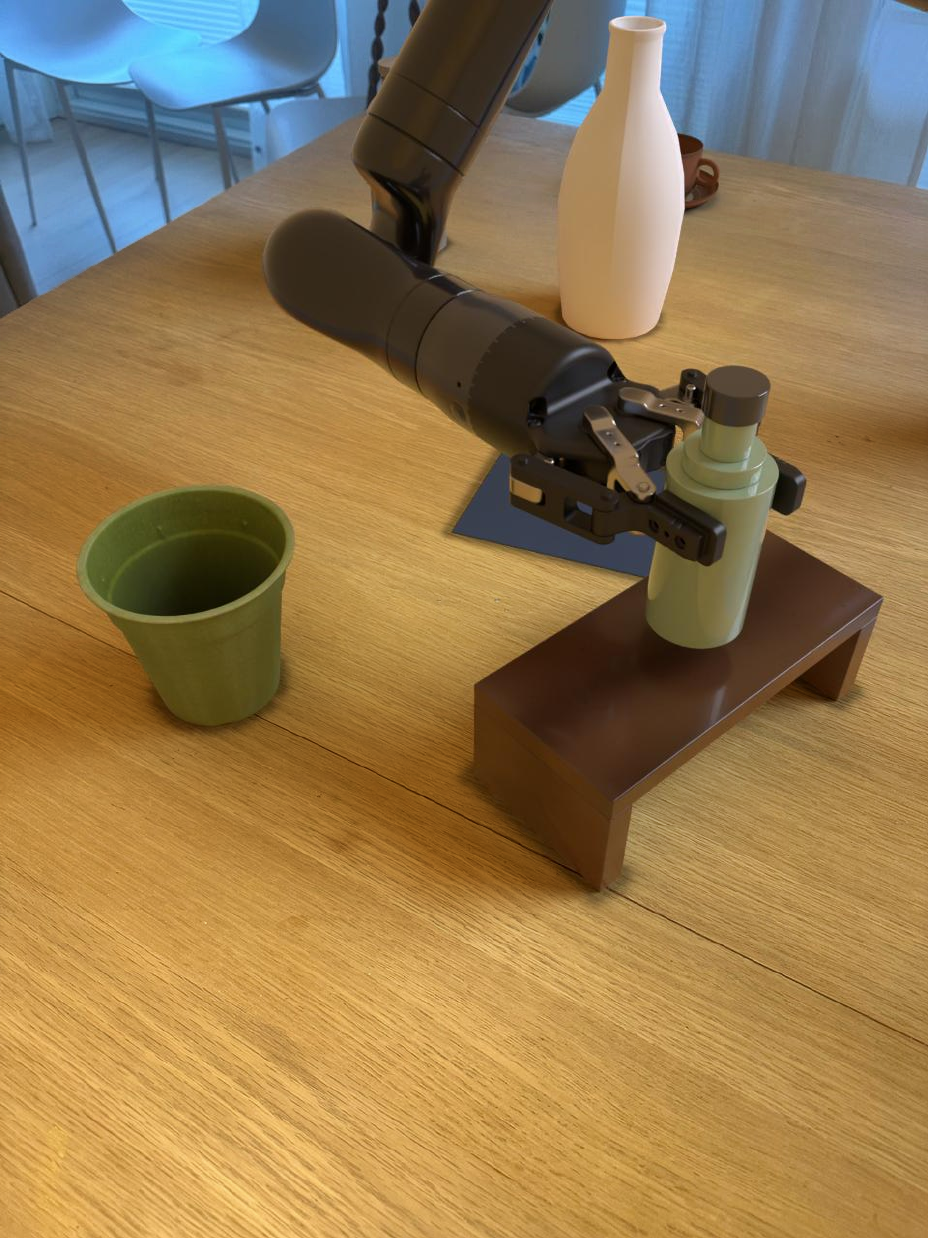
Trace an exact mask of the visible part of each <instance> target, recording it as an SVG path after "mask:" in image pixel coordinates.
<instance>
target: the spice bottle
mask: <svg viewBox="0 0 928 1238" xmlns="http://www.w3.org/2000/svg"><path fill="white" fill-rule="evenodd" d="M706 375H707V377H706V380H705V386H704V392H703V398H702V405H701V409H702V412H703V414H704V420H703V426H702V428H701V429H698V430H696V431H694V432H693V433H691V434H690V435H689V436H688V437H687V438H686V440H685V441H683V442H682V441H681V442H679V443H677V444H676V445H674V448H672V450H671V451H670V452H669V454H668V456H667V459H666V464H665V471H664V478H663V485H662V491H664V490H668V491H670V492H671V493H673V494H675V495H676V496H678V497H680V498H681V499H682V500H684V501H686V502H688V503H690V504H691V505H693V506H695V507H697V508H698V509H700V510H702V511H703V512H705V513H707V514H708V515H710V516H712V517H713V518H715V519H717V520H718V521H720V522H721V523H722V524H723V525H724V526H725V528H726V531H727V535H726V540H725V545H724V550H723V555H722V558H721V559H720V560H718V561H717V562H715V563H714V564H712V565H711V566H708V567H707V566H703V565H702V564H700V563H699V562H697V561H696V562H694V561H690V560H687V559H684V558H682V557H681V556H679V555H677V554H676V553H675V552H673V551H671V550H670V549H668V547H667V548H666V547H665V546H663V545H662V544H660V543H659V542H657V541H655V540H654V547H653V553H652V560H651V567H650V574H649V581H648V588H647V595H646V602H645V610H644V611H645V616H646V620H647V622H648V624H649V625H650V626H651V628H652V629H653V630H654V631H655V632H656V633H657V634H658V635H660V636H661V637H662V638H664V639H666V640H668V641H669V642H672V643H674V644H677V645H680V646H683V647H688V648H696V649H706V648H714V647H718V646H722V645H724V644H727V643H728V642H730V641H732V640H733V639H734V638H736V637H737V636H738V634H739V633H740V632H741V630H742V628H743V625H744V621H745V617H746V612H747V608H748V604H749V600H750V595H751V591H752V587H753V583H754V579H755V574H756V570H757V566H758V562H759V557H760V553H761V549H762V545H763V541H764V536H765V532H766V529H767V528H768V523H769V519H770V514H771V510H772V509H771V507H772V503H773V498H774V494H775V490H776V486H777V481H778V477H779V469H778V466H777V464H776V462H775V460H774V459H773V458H772V456H770V455H769V454H768V453H769V452H768V450H767V447H766V445H765V443H764V442H763V440H761V438H759V437H758V436H757V437H756V436H755V435H756V431H757V426H758V422H760V421H761V422H762V420H763V419H764V417H765V415H766V410H767V405H768V402H769V396H770V392H771V387H772V385H771V381H770V379H769V377H768V376H767V375H766V374H764V373H763V372H761V371H759V370H757V369H754V368H752V367H748V366H745V365H744V366H743V365H723V366H718V367H716V368H713V369H711V370H710V371H709V372H708V373H707V374H706ZM767 452H768V453H767Z"/></svg>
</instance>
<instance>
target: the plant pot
mask: <svg viewBox="0 0 928 1238" xmlns="http://www.w3.org/2000/svg"><path fill="white" fill-rule="evenodd" d="M295 545H296V535H295V530H294V527H293V523H292V522H291V520H290V518H289V517H288V515H287V513H286V512H285V511H284V509H282V508H281V506H279V505H278V504H277V503H275V502H274V501H273V500H271V499H269V498H267V497H266V496H264V495H262V494H260V493H257V492H254V491H253V490H248V489H246V488H242V487H237V486H232V485H225V484H192V485H191V484H190V485H183V486H178V487H172V488H168V489H164V490H159V491H156V492H153V493H150V494H147V495H145V496H142V497H140V498H137V499H135V500H133V501H131V502H130V503H127V504H126V505H123V506H121V507H120V508H118V509H117V510H116V511H114V512H112V513H111V514H110V515H108V516H107V517H104V519H103V520H101V521H100V522H99V523H98V524H97V525H96V527H95V528H94V529H93V531H92V532H90V533H89V534H88V536H87V537H86V538H85V540H84V542H83V544H82V545H81V548H80V549H79V553H78V556H77V559H76V567H75V572H76V573H75V574H76V578H77V582H78V584H79V587H80V590H81V591H82V593H83V594H84V596H85V597H86V599H88V600H89V602H90V603H92V604H93V605H94V606H95V607H97V608H98V609H99V610H101V611H103V612H104V613H106V615H107V617H108V619H110V621H111V623H112V624H113V625H114V626H115V627H116V628H117V629H118V630H120V632H121V633H122V634H123V637H124V638H125V640H126V641H127V643H128V645H129V647H130V648H131V649H132V652H133V653H134V655H135V657H136V658H137V659H138V661H139V663H140V665H141V666H142V668H143V670H144V671H145V673H146V675H147V676H148V678H149V680H150V682H151V683H152V685H153V686H154V688H155V690H156V692H157V693H158V695H159V696H160V698H161V700H162V701H163V703H164V704H165V706H166V707H167V709H168V710H169V711H170V712H171V713H172V714H173V716H175V717H177V718H178V719H180V720H182V721H184V722H187V723H189V724H193V725H198V726H204V727H206V726H207V727H216V726H217V727H218V726H221V725H225V724H230V723H237V722H240V721H243V720H245V719H248V718H249V717H251V716H253V715H254V714H256V713H258V712H259V711H261V710H262V709H263V708H264V707H266V706H267V704H268V703H270V701H271V700H272V699H273V697H274V696H275V694H276V693H277V690H278V688H279V685H280V681H281V680H280V679H281V659H282V657H281V655H282V654H281V651H282V650H281V649H282V648H281V647H282V611H283V610H282V609H283V607H282V605H283V603H282V602H283V590H284V586H285V582H286V573H287V568H288V567H289V566H290V563H291V561H292V558H293V556H294V552H295V551H294V550H295Z"/></svg>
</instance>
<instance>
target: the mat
mask: <svg viewBox="0 0 928 1238" xmlns="http://www.w3.org/2000/svg"><path fill="white" fill-rule="evenodd" d="M510 459H511V458H509V457H508V456H506V455H505V454H503V453H501V452H500V455H499V456H498V458H497V459H496V461H495V463H494V464H493V466H492V467H491V469H490V471H488V474H487V476H486V477H485V478H484V480H483V481H482V483H481V485H479V488H478V489H477V491H476V492H475V494H474V496H473V497H472V498H471V501H470V502H469V504H468V505H467V507H466V509H465V510H464V512H463V513H462V515H461V517H460V518H459V520H458V521H457V523H456V525H454V528H453V529H452V531H451V533H452V534H455V535H459V536H463V537H468V538H473V539H477V540H481V541H484V542H485V541H486V542H490V543H495V544H498V545H503V546H507V547H511V548H515V549H519V550H524V551H527V552H533V553H536V554H541V555H545V556H550V557H554V558H559V559H562V560H567V561H571V562H576V563H580V564H583V565H589V566H592V567H597V568H601V569H605V570H610V571H613V572H617V573H622V574H626V575H631V576H634V577H640V578H642V579H643V578H645V577H647V576H648V575H649V574H650V567H651V560H652V553H653V547H654V539H652V538H651V537H649V536H648V535H643V536H637V535H633V534H631V533H629V532H628V531H627V532H623V533H619V534H616V535H615V540H614V541H613V542H612V543H610V544H607V545H600V544H597V543H594V542H592V541H590V540H588V539H585V538H583V537H581V536H579V535H576V534H574V533H572V532H570V531H567V530H565V529H563V528H561V527H558V526H556V525H554V524H552V523H549V522H547V521H545V520H543V519H541V518H538V517H536V516H534V515H532V514H529V513H527V512H525V511H523V510H520V509H518V508H516V507H514V506H512V505H511V504H510V502H509V491H510ZM646 474H647V475H648V476H649V478H650V479H651V480H652V481H653V483H654V484H655V485H656V487H657V489H656V494H659V493H660V492H662V485H663V478H664V471H661V470H655V471H652V472H648V473H646ZM577 506H578V508H579V509H580V510H581V511H583V512H585V513H588V514H590V515H592V507H590V506H588V505H585V504H583V503H581V502H578V501H577Z"/></svg>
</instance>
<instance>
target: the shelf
mask: <svg viewBox="0 0 928 1238" xmlns="http://www.w3.org/2000/svg"><path fill="white" fill-rule="evenodd" d="M648 581H649V575H648V576H647V577H645V578H643V577H642V579H640V580H638V581H637V582H636V583H634V584H632V585H630V586H629V587H627V588H626V589H624V590H623V591H621V592H619V593H617V594H616V595H615V596H613V597H611V598H610V599H609V600H606V601H605V602H603V603H602V604H600V605H598V606H597V607H596V608H594V609H592V610H591V611H589V612H587V613H586V614H584V615H582V616H581V617H579V618H578V619H576V620H574V621H573V622H571V623H569V624H568V625H567V626H565V627H563V628H562V629H560V630H559V631H557V632H555V633H554V634H552V635H551V636H549V637H548V638H546V639H544V640H542V641H541V642H539V643H537V644H536V645H534V646H533V647H531V648H530V649H528V650H527V651H525V652H523V653H522V654H520V655H519V656H516V657H515V658H514V659H512V660H511V661H509V662H507V663H506V664H504V665H502V666H501V667H499V668H498V669H496V670H494V671H493V672H491V673H490V674H487V676H485V677H483V678H482V679H480V680H478V681H477V682H475V683H474V684H473V777H474V779H476V780H477V781H478V782H479V783H480V784H481V785H483V786H484V788H486V790H488V791H489V792H490V793H491V794H493V796H495V798H496V799H498V800H499V801H500V803H502V805H504V806H505V807H506V808H507V809H508V810H510V812H512V814H514V815H515V816H516V817H517V818H518V819H519V820H521V822H523V824H525V825H526V826H527V827H528V828H529V829H530V830H531V831H532V832H533V833H535V834H536V835H537V836H538V837H539V838H540V839H541V840H542V841H543V842H544V843H545V844H546V845H547V846H548V847H550V848H551V849H552V850H553V851H554V852H555V853H556V854H557V855H559V857H560V858H562V859H563V860H564V861H565V862H566V863H567V864H568V865H569V866H570V867H571V868H573V869H574V871H576V872H577V873H578V874H579V875H580V876H581V877H582V878H583V879H585V881H587V882H588V884H590V885H591V886H592V887H593V888H594V889H595V890H596V891H597V892H598V893H601V892H603V891H604V890H606V889H607V888H608V887H609V886H610V885H612V884H613V883H615V881H617V880H618V879H619V878H620V877H621V876H622V873H623V866H624V860H625V854H626V848H627V842H628V836H629V830H630V825H631V818H632V811H633V807H634V803H636V802H637V801H638V800H640V799H641V798H642V797H644V796H645V795H646V794H648V793H649V792H650V791H652V790H653V789H654V788H656V787H657V786H658V785H660V784H661V783H662V782H663V781H664V780H665V779H668V777H669V776H671V775H672V774H673V773H675V772H676V771H677V770H679V769H680V768H681V767H683V766H684V765H685V764H687V763H688V762H689V761H691V760H692V759H693V758H694V757H696V756H697V755H698V754H699V753H701V752H702V751H704V750H705V749H706V748H707V747H709V746H711V744H712V743H714V742H716V740H718V739H719V738H721V737H722V736H723V735H724V734H726V733H727V732H728V731H730V730H731V729H732V728H734V727H735V726H736V725H738V724H739V723H740V722H741V721H742V720H744V719H745V718H747V717H749V715H751V714H752V713H754V711H756V710H757V709H758V708H760V707H761V706H763V704H765V703H767V702H768V701H769V700H770V699H772V698H773V697H774V696H776V694H778V693H779V692H781V691H782V690H784V689H785V688H786V687H787V686H788V685H790V684H791V683H792V682H794V681H795V680H796V679H798V678H800V679H802V680H803V681H804V682H806V683H808V684H809V685H811V686H812V687H814V688H815V689H817V691H820V692H821V693H823V694H824V695H826V696H827V697H828V698H830V699H831V700H833V701H835V702H838V701H840V700H841V699H842V698H843V697H845V696H846V695H847V694H848V693H849V692H851V691H852V689H853V688H854V684H855V681H856V679H857V677H858V676H857V675H858V673H859V670H860V668H861V665H862V661H863V659H864V656H865V654H866V650H867V647H868V645H869V642H870V639H871V636H872V634H873V630H874V628H875V625H876V622H877V620H878V616H879V613H880V610H881V607H882V605H883V602H884V599H885V597H884V596H883V595H881V594H880V593H877V592H876V591H874V590H873V589H871V588H869V587H867V586H866V585H864V584H862V583H860V582H858V581H857V580H856V579H854V578H851V577H850V576H848V575H847V574H845V573H844V572H842V571H840V570H839V569H836V568H834V567H833V566H831V565H829V564H828V563H826V562H825V561H823V560H821V559H819V558H818V557H816V556H814V555H812V554H811V553H810V552H807V551H805V550H804V549H802V548H801V547H798V546H797V545H795V544H794V543H792V542H791V541H788V540H786V539H785V538H783V537H781V536H780V535H777V534H776V533H775V532H772V531H771V530H769V529H767V528H766V532H765V536H764V541H763V545H762V549H761V553H760V557H759V562H758V566H757V570H756V574H755V579H754V583H753V587H752V591H751V595H750V600H749V604H748V608H747V612H746V617H745V621H744V625H743V628H742V630H741V632H740V633H739V634H738V636H737V637H736V638H734V639H733V640H732V641H730V642H728V643H727V644H724V645H722V646H718V647H714V648H706V649H696V648H688V647H683V646H680V645H677V644H674V643H672V642H669V641H668V640H666V639H664V638H662V637H661V636H660V635H658V634H657V633H656V632H655V631H654V630H653V629H652V628H651V626H650V625H649V624H648V622H647V620H646V616H645V611H644V610H645V602H646V595H647V588H648Z"/></svg>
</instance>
